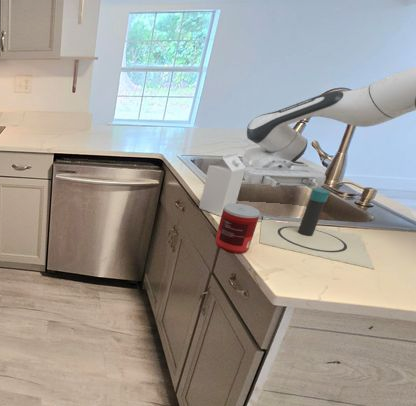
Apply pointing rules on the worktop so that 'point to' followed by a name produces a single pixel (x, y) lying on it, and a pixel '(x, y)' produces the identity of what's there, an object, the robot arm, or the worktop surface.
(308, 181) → the robot arm
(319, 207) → the marker
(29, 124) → the worktop surface
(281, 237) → the paper pad
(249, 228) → the canned food
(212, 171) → the milk carton
